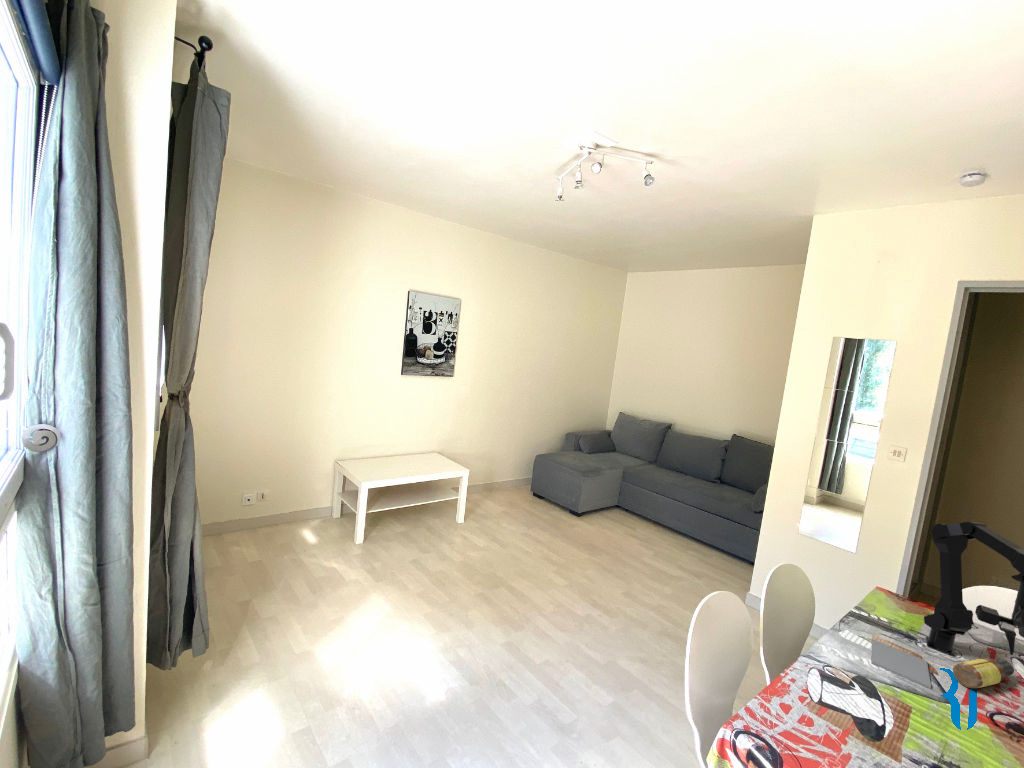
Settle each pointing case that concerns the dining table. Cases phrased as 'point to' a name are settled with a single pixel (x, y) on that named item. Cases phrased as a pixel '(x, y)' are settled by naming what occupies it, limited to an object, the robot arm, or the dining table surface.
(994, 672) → the sauce bottle
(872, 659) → the rubber mat
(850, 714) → the dining table surface
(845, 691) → the dining table surface
